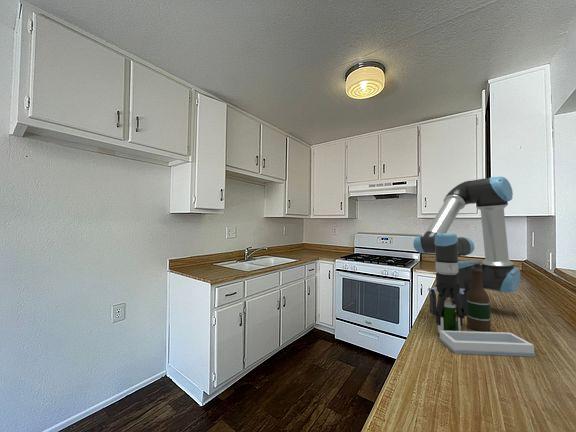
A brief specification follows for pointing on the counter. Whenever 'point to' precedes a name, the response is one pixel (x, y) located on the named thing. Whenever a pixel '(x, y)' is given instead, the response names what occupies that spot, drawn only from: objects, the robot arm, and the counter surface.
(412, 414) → the counter surface
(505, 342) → the tray
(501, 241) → the robot arm
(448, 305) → the beer can
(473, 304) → the beer bottle
